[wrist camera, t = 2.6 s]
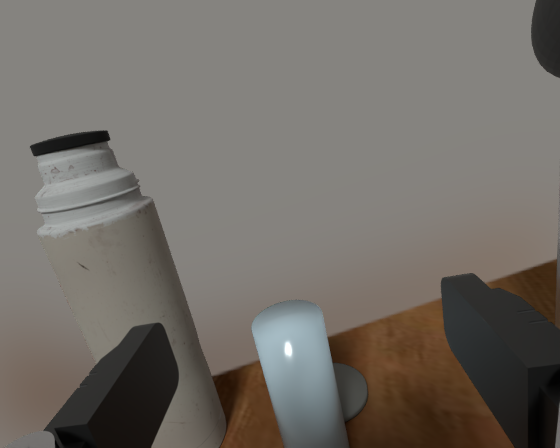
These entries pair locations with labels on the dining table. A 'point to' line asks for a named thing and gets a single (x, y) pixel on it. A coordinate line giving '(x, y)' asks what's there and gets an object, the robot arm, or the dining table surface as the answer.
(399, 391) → the dining table surface
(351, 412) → the coaster
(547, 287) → the dining table surface
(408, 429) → the dining table surface
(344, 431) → the tall pale blue cylinder
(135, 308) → the thermos bottle
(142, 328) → the robot arm
